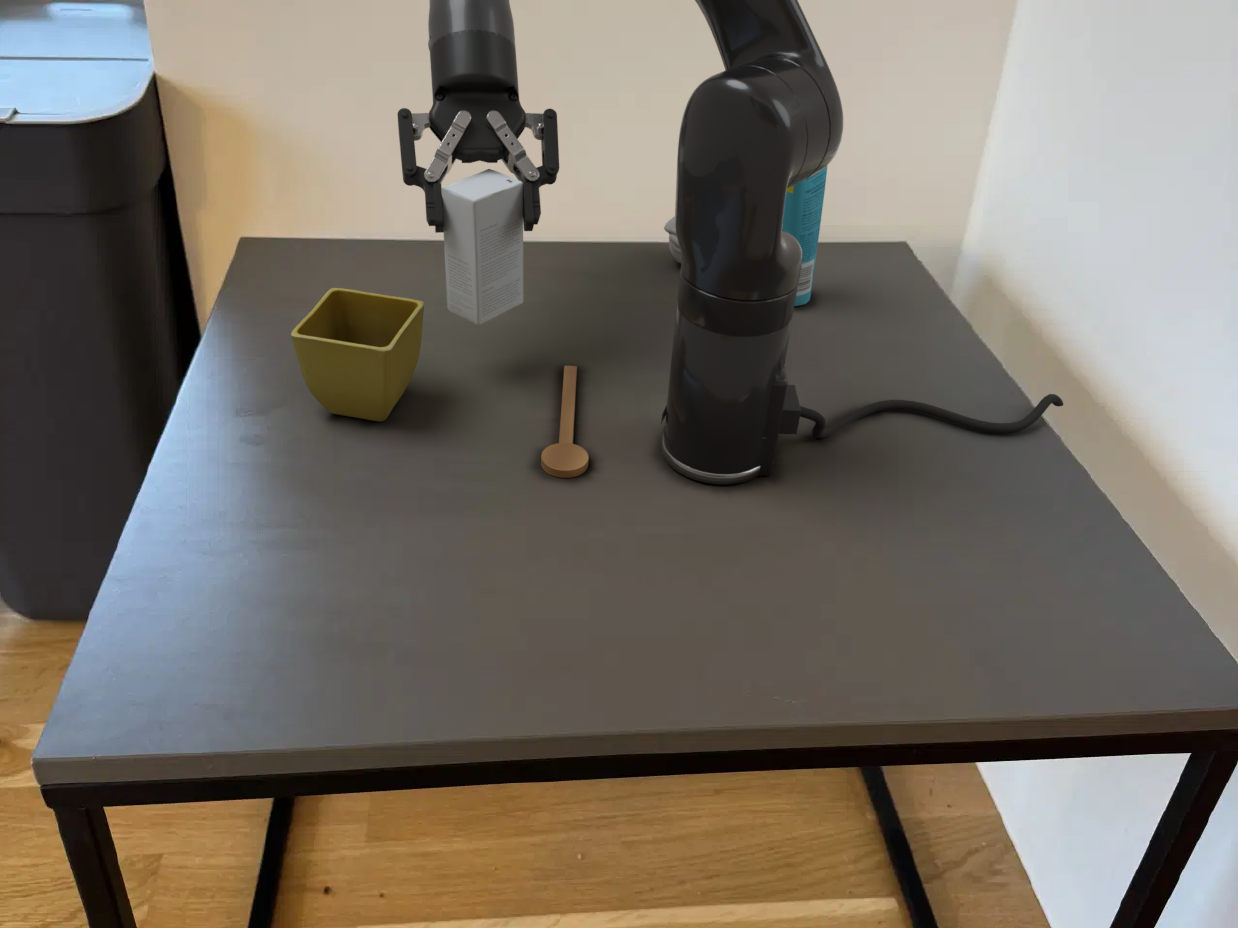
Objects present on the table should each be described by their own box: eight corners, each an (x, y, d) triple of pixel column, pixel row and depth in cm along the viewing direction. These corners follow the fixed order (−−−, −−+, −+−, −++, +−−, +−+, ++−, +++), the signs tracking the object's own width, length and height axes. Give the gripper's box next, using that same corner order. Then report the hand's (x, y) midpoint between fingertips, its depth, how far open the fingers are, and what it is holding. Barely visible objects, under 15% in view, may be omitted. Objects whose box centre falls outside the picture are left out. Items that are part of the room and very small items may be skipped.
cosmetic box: (491, 288, 104) (490, 167, 97) (524, 304, 102) (525, 181, 95) (444, 310, 100) (439, 185, 93) (477, 327, 98) (475, 201, 91)
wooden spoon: (591, 372, 106) (591, 364, 105) (587, 479, 92) (588, 471, 92) (549, 369, 106) (549, 362, 105) (539, 477, 92) (540, 469, 91)
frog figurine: (724, 277, 124) (731, 219, 119) (661, 274, 123) (667, 216, 119) (719, 253, 128) (726, 196, 124) (659, 250, 128) (664, 193, 124)
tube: (778, 278, 124) (805, 109, 113) (819, 290, 122) (851, 119, 111) (754, 305, 119) (779, 129, 107) (796, 317, 117) (827, 140, 106)
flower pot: (395, 440, 95) (389, 349, 90) (299, 423, 96) (287, 333, 91) (430, 387, 102) (425, 300, 97) (340, 372, 103) (331, 286, 98)
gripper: (388, 25, 92) (399, 214, 90) (558, 27, 95) (573, 212, 93) (391, 69, 99) (401, 245, 97) (549, 70, 102) (562, 242, 100)
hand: (484, 228), depth 95 cm, fingers closed on cosmetic box, 7 cm apart
